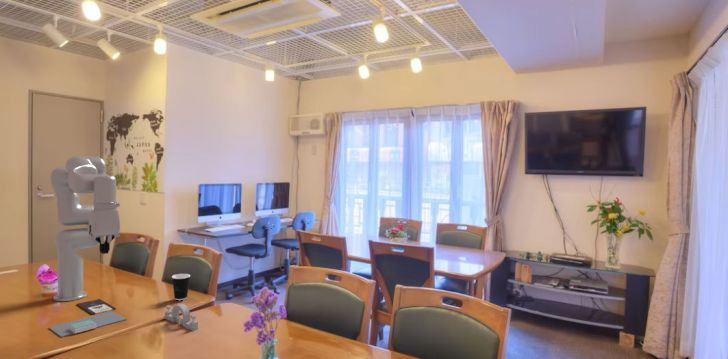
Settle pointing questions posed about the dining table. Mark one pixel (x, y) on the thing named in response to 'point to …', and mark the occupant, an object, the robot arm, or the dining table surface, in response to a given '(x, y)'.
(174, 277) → the dixie cup
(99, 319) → the mat
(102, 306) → the chocolate bar
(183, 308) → the grey arched bracket
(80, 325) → the slab
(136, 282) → the dining table surface
